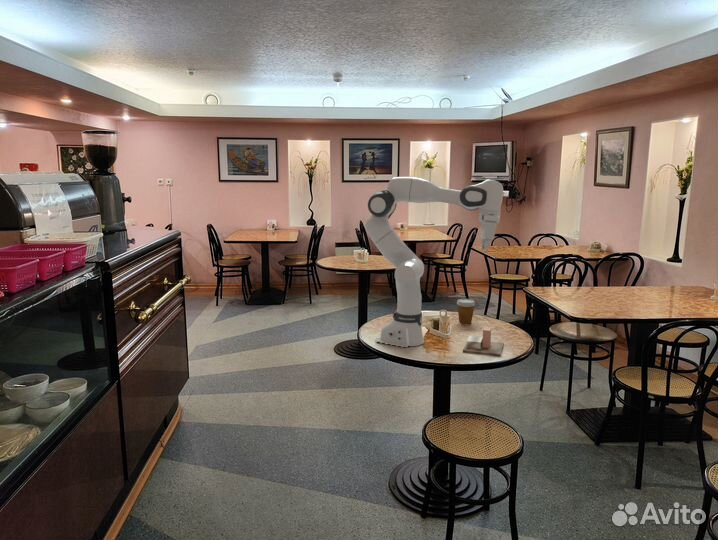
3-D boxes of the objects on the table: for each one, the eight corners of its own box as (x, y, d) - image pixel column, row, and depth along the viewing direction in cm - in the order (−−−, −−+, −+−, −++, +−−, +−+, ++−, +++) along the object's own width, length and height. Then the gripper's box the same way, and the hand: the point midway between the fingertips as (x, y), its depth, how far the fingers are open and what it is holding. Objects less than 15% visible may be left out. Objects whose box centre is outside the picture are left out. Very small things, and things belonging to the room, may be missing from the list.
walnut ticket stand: (462, 352, 225) (463, 343, 224) (468, 341, 240) (468, 333, 239) (500, 356, 219) (500, 347, 219) (503, 345, 234) (503, 336, 233)
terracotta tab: (482, 347, 227) (483, 330, 226) (483, 344, 232) (484, 326, 230) (489, 348, 226) (490, 330, 225) (490, 344, 231) (491, 327, 229)
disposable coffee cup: (478, 324, 267) (479, 302, 264) (462, 326, 263) (463, 303, 261) (467, 319, 275) (468, 298, 273) (452, 321, 272) (453, 299, 270)
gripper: (479, 218, 231) (475, 248, 232) (484, 216, 211) (479, 249, 212) (493, 219, 230) (489, 250, 231) (500, 217, 210) (495, 251, 211)
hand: (484, 249), depth 222 cm, fingers open, 8 cm apart
